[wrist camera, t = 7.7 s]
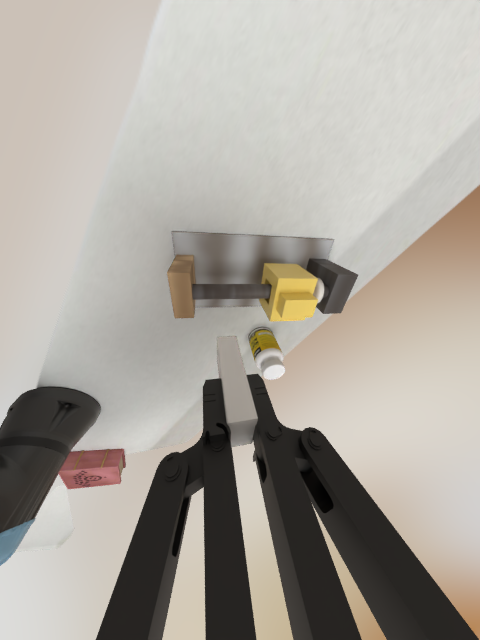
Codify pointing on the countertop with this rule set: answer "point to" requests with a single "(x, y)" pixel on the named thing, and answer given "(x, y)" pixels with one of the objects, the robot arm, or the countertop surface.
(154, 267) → the countertop surface
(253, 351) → the supplement bottle
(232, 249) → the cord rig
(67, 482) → the book
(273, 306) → the sleeve
